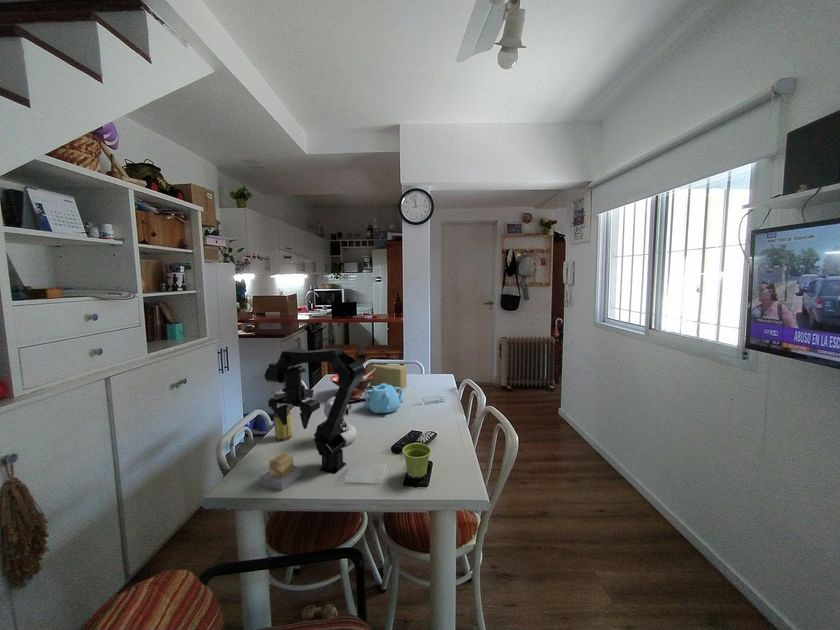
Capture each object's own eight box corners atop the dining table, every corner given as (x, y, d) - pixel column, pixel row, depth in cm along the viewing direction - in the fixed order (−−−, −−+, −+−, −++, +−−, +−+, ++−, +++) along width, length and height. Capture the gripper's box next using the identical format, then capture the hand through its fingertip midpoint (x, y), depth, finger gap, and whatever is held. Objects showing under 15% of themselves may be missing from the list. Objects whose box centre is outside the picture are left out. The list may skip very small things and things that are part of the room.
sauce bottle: (287, 433, 139) (284, 388, 137) (295, 438, 135) (292, 391, 133) (272, 439, 133) (269, 392, 132) (279, 444, 130) (277, 395, 128)
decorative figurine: (348, 451, 124) (347, 399, 122) (312, 448, 126) (310, 398, 124) (361, 433, 138) (360, 387, 137) (329, 431, 141) (327, 386, 139)
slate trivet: (302, 474, 108) (302, 467, 108) (282, 490, 100) (281, 483, 100) (281, 469, 112) (281, 462, 111) (260, 484, 103) (259, 476, 103)
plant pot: (430, 466, 112) (430, 442, 112) (432, 483, 103) (432, 457, 102) (403, 467, 112) (402, 443, 111) (402, 484, 103) (402, 457, 102)
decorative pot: (382, 402, 175) (381, 377, 174) (406, 408, 166) (406, 382, 165) (360, 412, 162) (360, 385, 161) (385, 419, 153) (385, 391, 152)
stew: (375, 388, 199) (374, 362, 198) (385, 401, 177) (384, 372, 175) (327, 394, 189) (326, 366, 188) (332, 408, 167) (330, 377, 166)
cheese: (366, 390, 195) (366, 366, 193) (373, 385, 204) (373, 362, 203) (401, 393, 188) (401, 368, 187) (407, 388, 198) (406, 364, 196)
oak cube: (293, 469, 107) (292, 455, 107) (281, 478, 102) (281, 462, 102) (281, 466, 109) (280, 452, 108) (269, 474, 104) (268, 459, 104)
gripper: (328, 380, 120) (330, 421, 122) (289, 376, 127) (291, 414, 128) (308, 389, 110) (310, 434, 111) (266, 384, 117) (268, 426, 118)
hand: (294, 426), depth 118 cm, fingers open, 9 cm apart
